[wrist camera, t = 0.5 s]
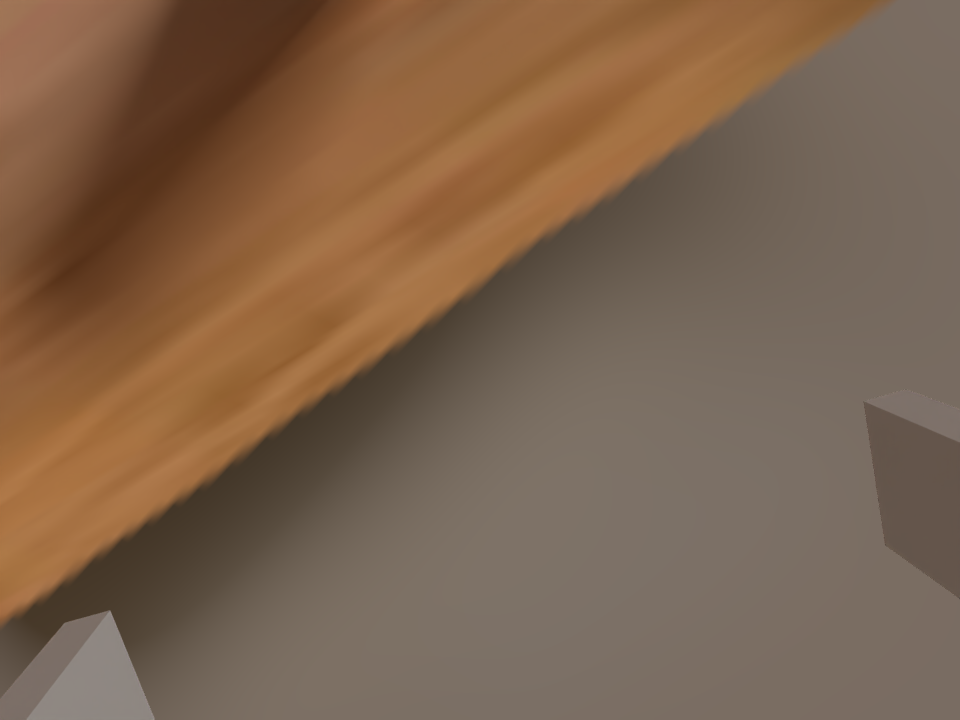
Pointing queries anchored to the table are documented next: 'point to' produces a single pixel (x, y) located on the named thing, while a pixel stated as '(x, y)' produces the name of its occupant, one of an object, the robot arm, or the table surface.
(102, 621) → the robot arm
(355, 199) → the table surface
